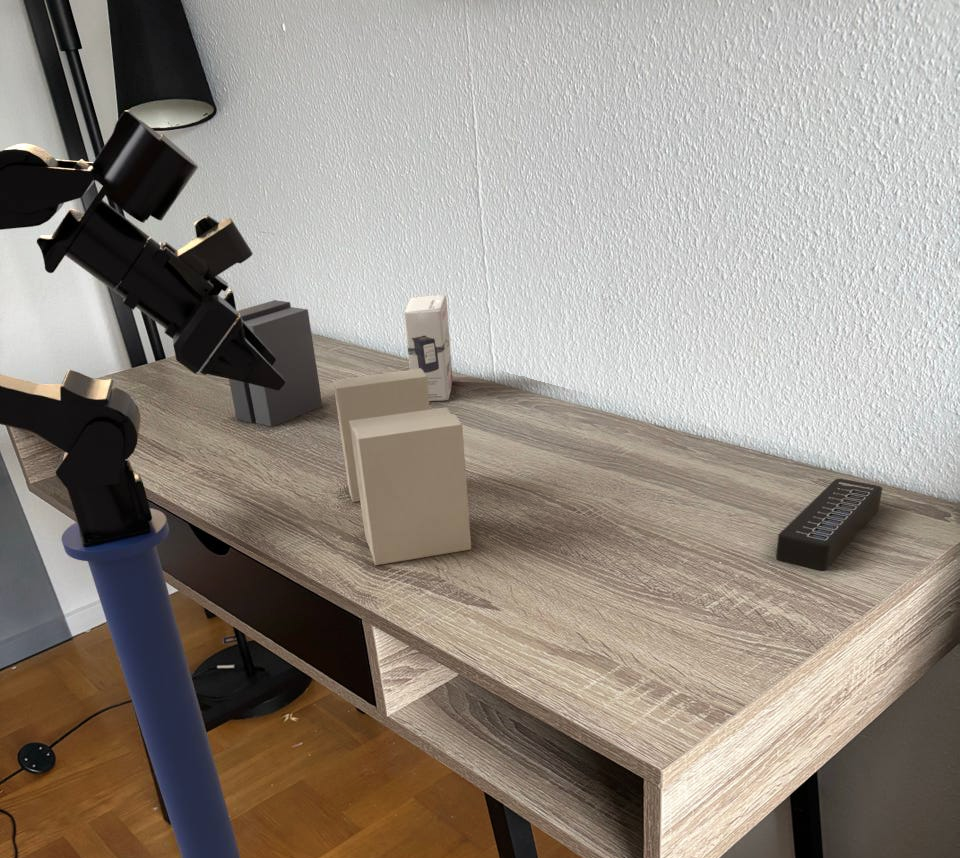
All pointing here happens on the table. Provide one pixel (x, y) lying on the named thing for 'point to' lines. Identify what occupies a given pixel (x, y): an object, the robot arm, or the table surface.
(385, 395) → the white book
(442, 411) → the white books
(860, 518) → the multiport hub
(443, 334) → the ink box
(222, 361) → the robot arm
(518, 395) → the table surface
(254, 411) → the grey books
